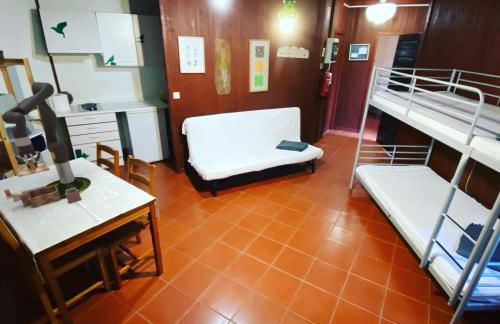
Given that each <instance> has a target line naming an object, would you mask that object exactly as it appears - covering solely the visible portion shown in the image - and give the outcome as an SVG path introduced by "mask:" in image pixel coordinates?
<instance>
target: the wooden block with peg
mask: <svg viewBox="0 0 500 324" xmlns="http://www.w3.org/2000/svg"><path fill="white" fill-rule="evenodd" d="M3 192H4V193H5V198H6V200H11V199H13V198H15V197H19V196H23V193H22V192H23V191H19V192H14V193H11V191H10V189H9V188H7V189H4V190H3Z"/></svg>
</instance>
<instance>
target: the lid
mask: <svg viewBox="0 0 500 324" xmlns="http://www.w3.org/2000/svg"><path fill="white" fill-rule="evenodd" d="M28 163H29V166H30V168H31V169H29V168H28V167H27V166H24V167H23V166H22V167H19V168H17V169H16V170H17V176H18V178H21V177H22V178H23V177H26V176H29V175H33V174H35V175H36V174H39V173H42V172H47V171H50V166H49V164H48V162H47V161H45V162H43V163H37V167H36V168H35V165H34V162H33V160H32V158H30V159H28Z"/></svg>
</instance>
